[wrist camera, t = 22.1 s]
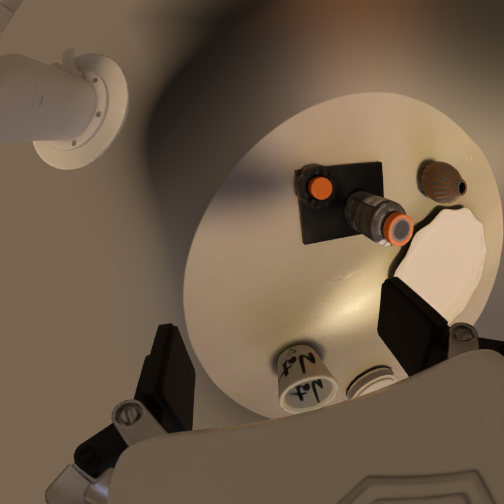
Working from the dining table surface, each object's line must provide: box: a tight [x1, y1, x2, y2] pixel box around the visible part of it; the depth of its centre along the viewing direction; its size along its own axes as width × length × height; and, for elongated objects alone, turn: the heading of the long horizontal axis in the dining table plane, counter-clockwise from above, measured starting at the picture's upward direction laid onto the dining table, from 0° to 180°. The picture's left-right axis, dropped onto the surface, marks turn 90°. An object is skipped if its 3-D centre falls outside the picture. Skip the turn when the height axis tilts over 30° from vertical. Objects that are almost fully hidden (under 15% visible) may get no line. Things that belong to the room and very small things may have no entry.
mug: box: [278, 345, 338, 413], centre depth 45 cm, size 10×15×10 cm
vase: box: [421, 162, 467, 203], centre depth 35 cm, size 7×7×9 cm
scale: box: [295, 162, 384, 245], centre depth 38 cm, size 11×14×2 cm
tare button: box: [308, 176, 332, 200], centre depth 35 cm, size 3×3×2 cm
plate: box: [393, 207, 486, 324], centre depth 45 cm, size 29×29×2 cm
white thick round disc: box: [347, 368, 398, 400], centre depth 54 cm, size 13×13×5 cm
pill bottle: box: [344, 191, 413, 246], centre depth 33 cm, size 6×6×11 cm
